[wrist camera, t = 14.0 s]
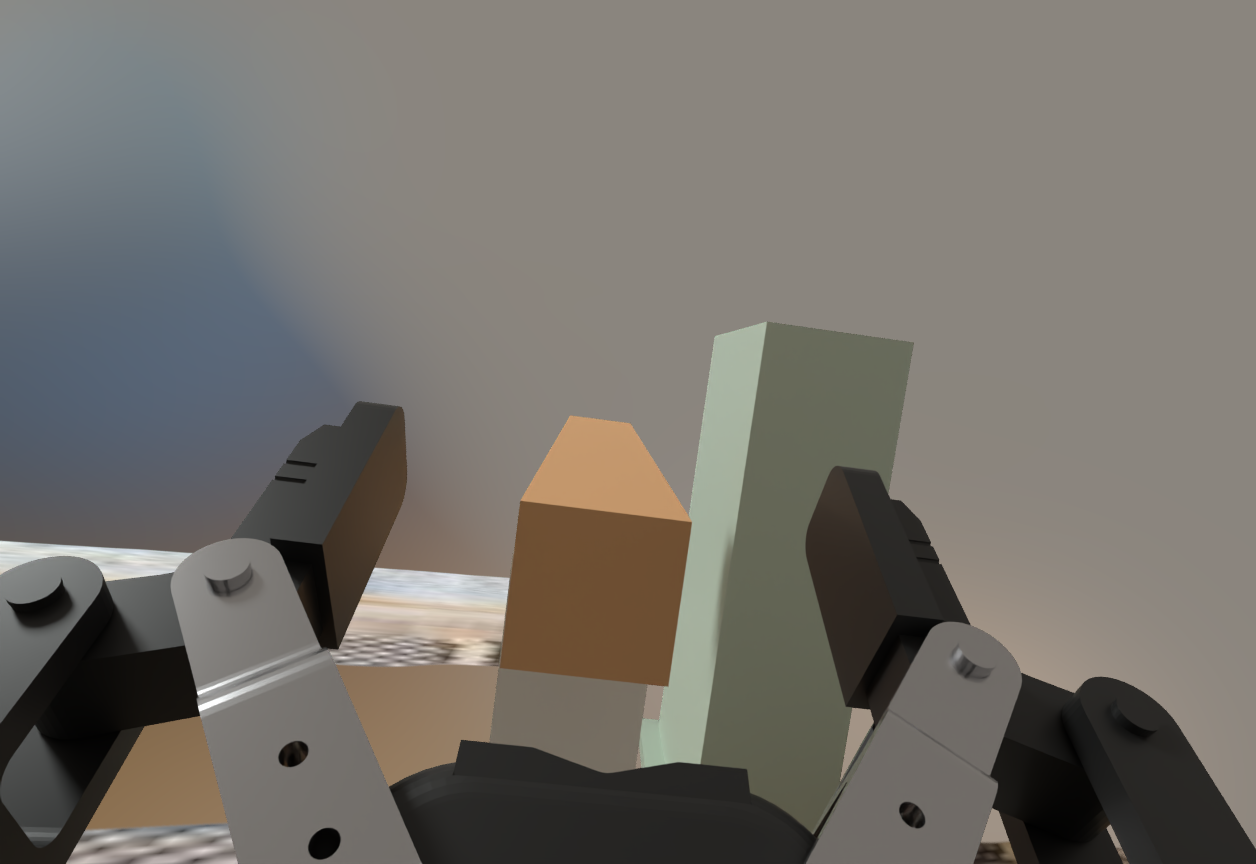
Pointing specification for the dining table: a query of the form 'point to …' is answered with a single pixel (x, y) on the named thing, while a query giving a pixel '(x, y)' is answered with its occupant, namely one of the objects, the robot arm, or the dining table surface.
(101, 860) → the dining table surface
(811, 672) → the stand
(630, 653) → the bar
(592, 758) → the post
